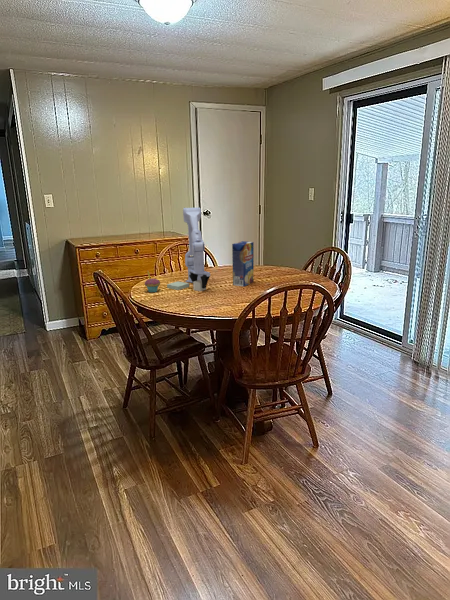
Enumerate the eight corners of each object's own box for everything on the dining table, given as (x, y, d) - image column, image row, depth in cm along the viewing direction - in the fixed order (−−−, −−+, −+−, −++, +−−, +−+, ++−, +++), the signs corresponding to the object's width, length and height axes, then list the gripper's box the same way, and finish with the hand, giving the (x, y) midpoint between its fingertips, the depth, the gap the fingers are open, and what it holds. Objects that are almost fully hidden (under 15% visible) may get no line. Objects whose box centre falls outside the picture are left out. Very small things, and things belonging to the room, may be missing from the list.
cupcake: (145, 293, 222) (144, 272, 219) (144, 289, 230) (142, 269, 227) (161, 292, 224) (160, 271, 221) (159, 288, 232) (158, 268, 229)
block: (199, 288, 232) (199, 279, 230) (206, 289, 229) (205, 281, 227) (193, 290, 228) (193, 281, 226) (200, 291, 225) (199, 282, 223)
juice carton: (244, 286, 233) (243, 244, 226) (232, 285, 237) (232, 244, 230) (253, 282, 243) (253, 241, 236) (242, 280, 246) (242, 241, 240)
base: (178, 284, 240) (178, 281, 240) (189, 286, 235) (189, 283, 234) (167, 287, 234) (166, 284, 233) (178, 290, 228) (178, 286, 228)
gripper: (184, 263, 225) (185, 286, 229) (204, 266, 216) (204, 290, 220) (192, 261, 230) (193, 284, 234) (212, 263, 222) (213, 288, 226)
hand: (199, 287), depth 228 cm, fingers open, 6 cm apart
